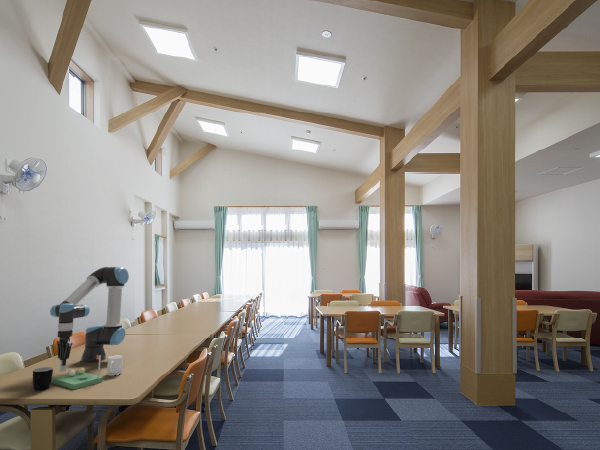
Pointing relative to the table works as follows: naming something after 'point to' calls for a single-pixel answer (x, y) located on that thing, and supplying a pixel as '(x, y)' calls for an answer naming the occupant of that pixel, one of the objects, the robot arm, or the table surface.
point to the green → (78, 379)
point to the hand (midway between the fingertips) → (62, 371)
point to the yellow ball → (81, 370)
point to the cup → (114, 365)
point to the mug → (42, 378)
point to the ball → (71, 373)
